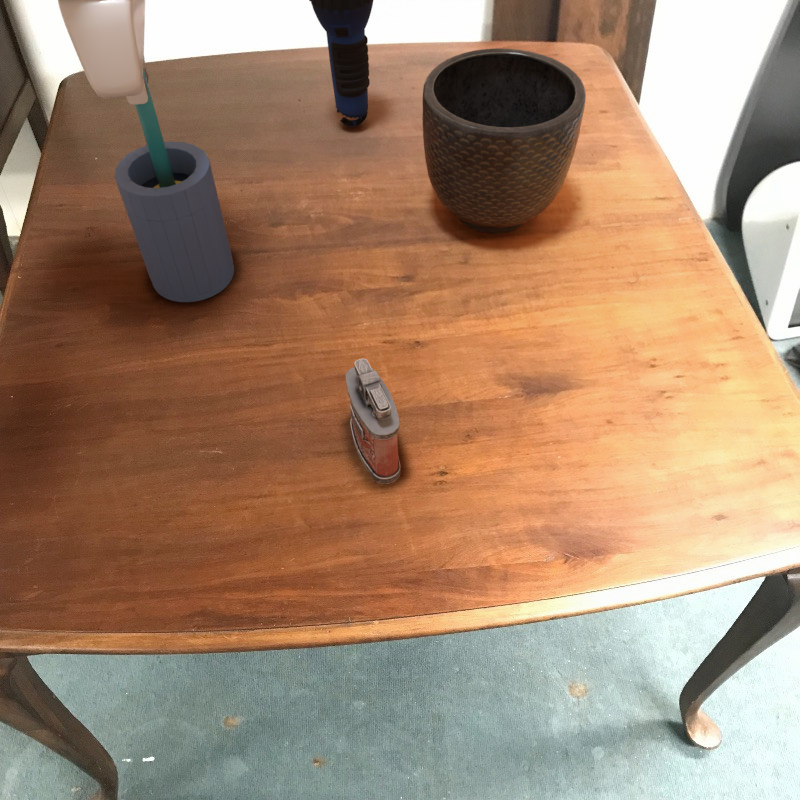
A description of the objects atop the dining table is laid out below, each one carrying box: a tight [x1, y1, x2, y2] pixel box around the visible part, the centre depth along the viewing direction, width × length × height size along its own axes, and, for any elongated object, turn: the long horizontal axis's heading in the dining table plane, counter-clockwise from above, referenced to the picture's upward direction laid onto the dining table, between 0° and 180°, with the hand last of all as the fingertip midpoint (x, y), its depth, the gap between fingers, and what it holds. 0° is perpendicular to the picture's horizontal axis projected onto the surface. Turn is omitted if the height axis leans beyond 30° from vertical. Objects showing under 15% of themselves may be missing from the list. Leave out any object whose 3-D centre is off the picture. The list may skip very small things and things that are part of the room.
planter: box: [422, 47, 587, 235], centre depth 88 cm, size 17×17×16 cm
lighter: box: [345, 358, 402, 485], centre depth 68 cm, size 8×3×10 cm, turn 22°
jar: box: [114, 140, 235, 303], centre depth 82 cm, size 9×9×14 cm
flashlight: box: [309, 0, 374, 128], centre depth 98 cm, size 8×8×20 cm
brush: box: [134, 69, 182, 188], centre depth 75 cm, size 5×5×21 cm
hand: (139, 92), depth 70 cm, fingers closed on brush
